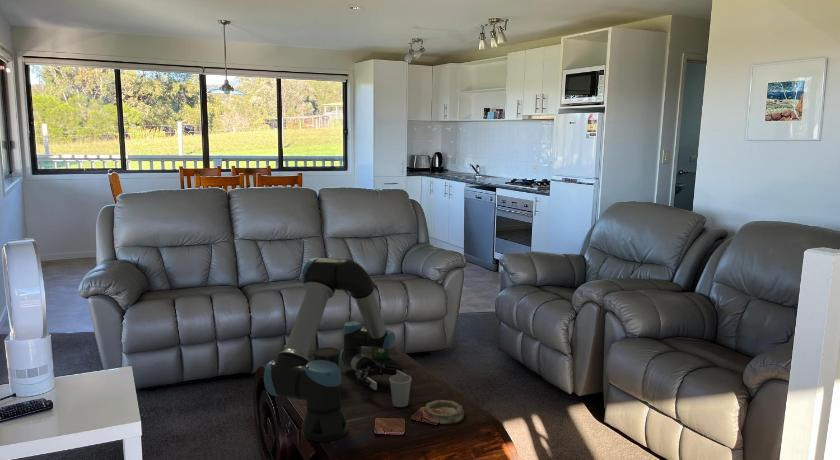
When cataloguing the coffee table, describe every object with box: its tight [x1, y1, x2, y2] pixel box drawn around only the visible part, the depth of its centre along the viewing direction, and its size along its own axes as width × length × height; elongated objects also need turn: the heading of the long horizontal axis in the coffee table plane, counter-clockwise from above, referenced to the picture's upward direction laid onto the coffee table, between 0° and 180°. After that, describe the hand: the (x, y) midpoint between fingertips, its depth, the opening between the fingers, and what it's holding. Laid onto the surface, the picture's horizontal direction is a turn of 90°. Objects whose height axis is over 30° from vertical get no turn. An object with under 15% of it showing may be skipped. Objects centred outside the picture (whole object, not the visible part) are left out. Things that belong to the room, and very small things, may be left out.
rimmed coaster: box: [423, 399, 465, 425], centre depth 215 cm, size 15×15×2 cm
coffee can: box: [313, 347, 341, 369], centre depth 240 cm, size 10×10×14 cm
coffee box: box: [371, 329, 391, 360], centre depth 271 cm, size 8×3×13 cm, turn 88°
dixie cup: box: [388, 373, 413, 408], centre depth 223 cm, size 8×8×10 cm
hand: (391, 382), depth 229 cm, fingers open, 13 cm apart
